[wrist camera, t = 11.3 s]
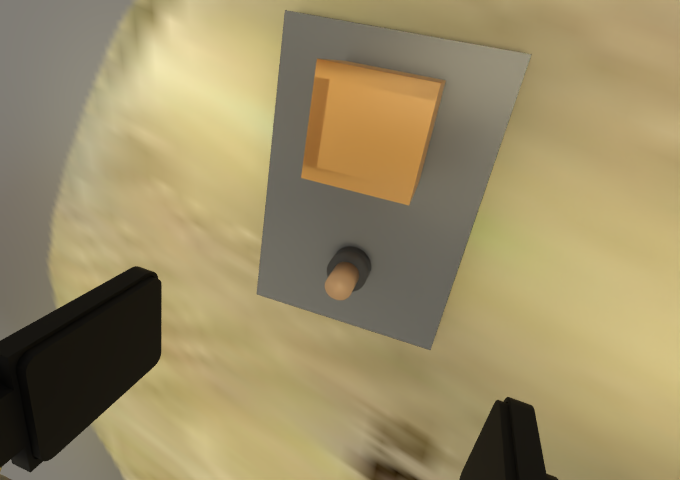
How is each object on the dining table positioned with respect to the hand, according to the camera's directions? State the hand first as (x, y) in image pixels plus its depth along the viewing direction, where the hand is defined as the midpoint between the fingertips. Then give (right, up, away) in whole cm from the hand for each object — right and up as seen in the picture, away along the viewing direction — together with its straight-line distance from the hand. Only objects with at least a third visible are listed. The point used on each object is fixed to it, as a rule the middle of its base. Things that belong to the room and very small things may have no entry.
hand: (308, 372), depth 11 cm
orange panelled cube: (+3, +11, +14) cm, 18 cm away
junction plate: (+3, +7, +18) cm, 19 cm away
